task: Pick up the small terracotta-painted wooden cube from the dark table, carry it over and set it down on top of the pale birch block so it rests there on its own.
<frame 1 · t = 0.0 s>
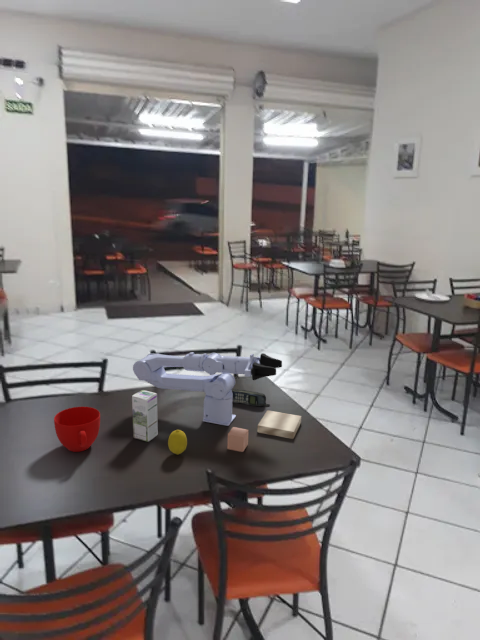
hand: (278, 367, 152), 22 cm above the table, tool horizontal, fingers open, 7 cm apart
lemon: (177, 455, 140), on the table
ceramic cup: (80, 450, 142), on the table
mobile phone: (249, 404, 177), on the table
birch block: (279, 428, 159), on the table
terracotta cube: (237, 446, 146), on the table
syrup box: (145, 437, 150), on the table
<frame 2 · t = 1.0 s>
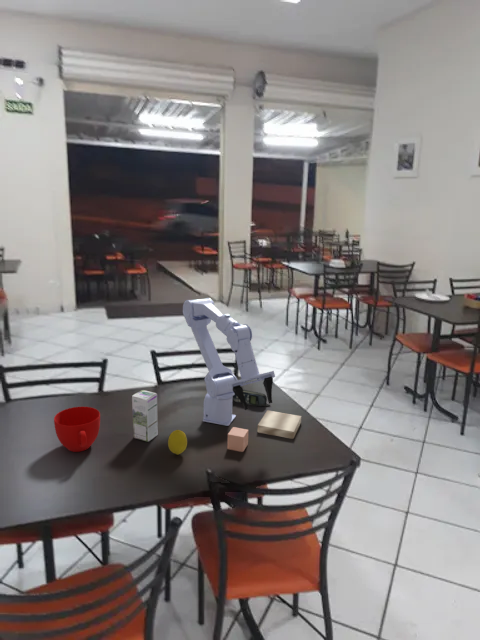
hand: (258, 406, 144), 13 cm above the table, tool tilted 30°, fingers open, 7 cm apart
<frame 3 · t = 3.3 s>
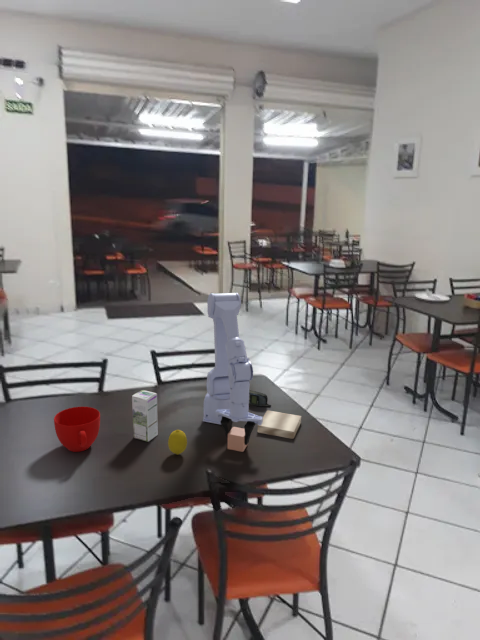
hand: (237, 441, 146), 2 cm above the table, tool pointing down, fingers closed on terracotta cube, 5 cm apart
terracotta cube: (237, 446, 146), on the table, touching gripper
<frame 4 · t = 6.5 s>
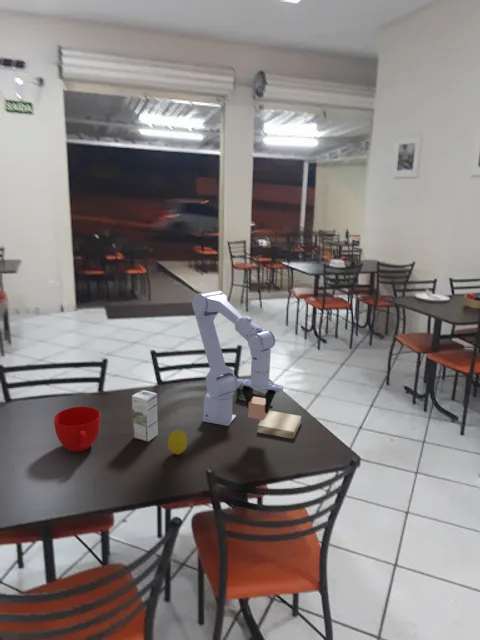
hand: (258, 410, 149), 9 cm above the table, tool pointing down, fingers closed on terracotta cube, 5 cm apart
terracotta cube: (258, 415, 150), point 8 cm above the table, touching gripper
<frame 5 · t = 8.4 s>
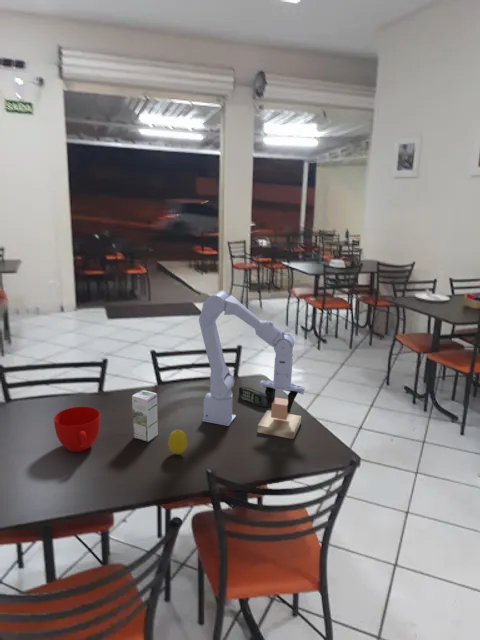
hand: (280, 410, 157), 6 cm above the table, tool pointing down, fingers closed on terracotta cube, 5 cm apart
terracotta cube: (280, 415, 158), point 4 cm above the table, touching gripper
when the fingers open (6 cm above the table, at t = 9.3 s): terracotta cube drops 2 cm, resting on birch block.
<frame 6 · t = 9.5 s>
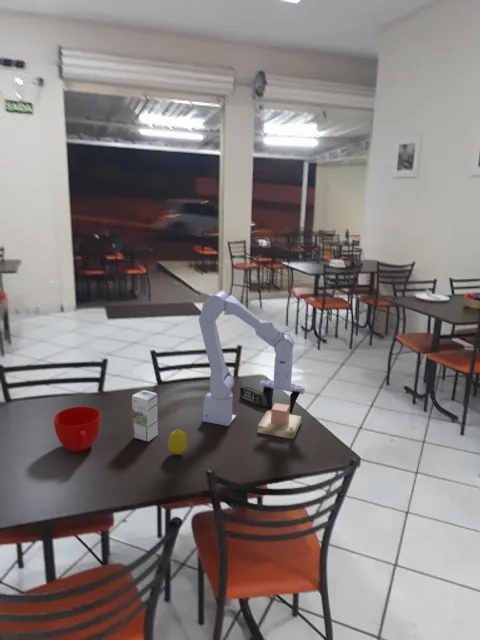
hand: (280, 410, 157), 6 cm above the table, tool pointing down, fingers open, 6 cm apart
birch block: (279, 428, 159), on the table, touching terracotta cube
terracotta cube: (279, 421, 158), point 2 cm above the table, touching birch block
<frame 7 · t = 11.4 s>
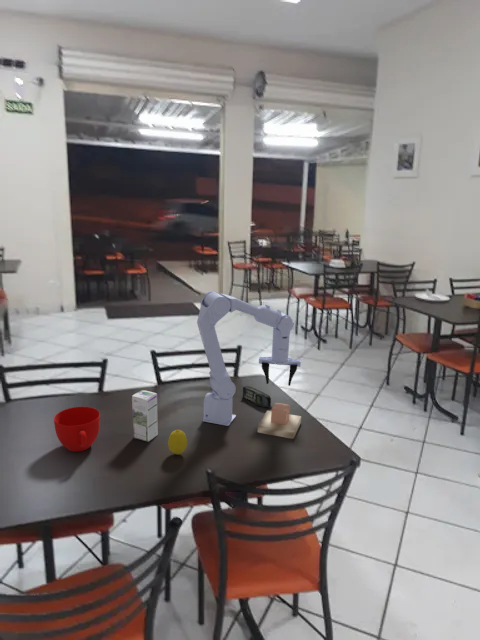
hand: (278, 383, 169), 10 cm above the table, tool pointing down, fingers open, 7 cm apart
birch block: (279, 428, 159), on the table
terracotta cube: (280, 420, 159), point 2 cm above the table
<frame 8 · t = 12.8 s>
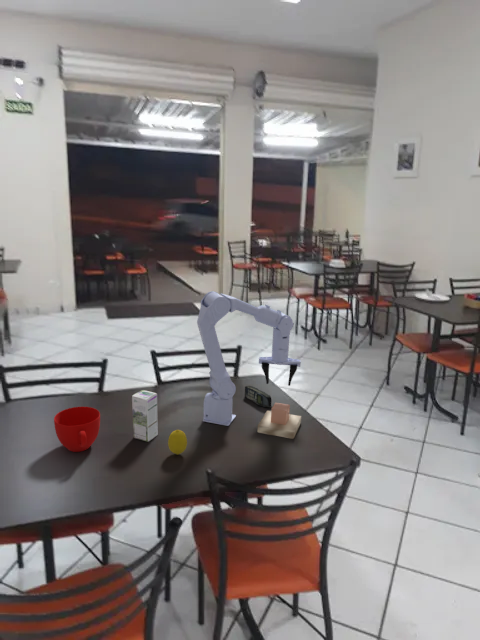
hand: (278, 383, 169), 10 cm above the table, tool pointing down, fingers open, 7 cm apart
birch block: (279, 428, 159), on the table, touching terracotta cube
terracotta cube: (280, 420, 159), point 2 cm above the table, touching birch block
at the end: terracotta cube 0.2 cm from the birch block (horizontally); terracotta cube point 2.4 cm above the table; the gripper is holding nothing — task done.
